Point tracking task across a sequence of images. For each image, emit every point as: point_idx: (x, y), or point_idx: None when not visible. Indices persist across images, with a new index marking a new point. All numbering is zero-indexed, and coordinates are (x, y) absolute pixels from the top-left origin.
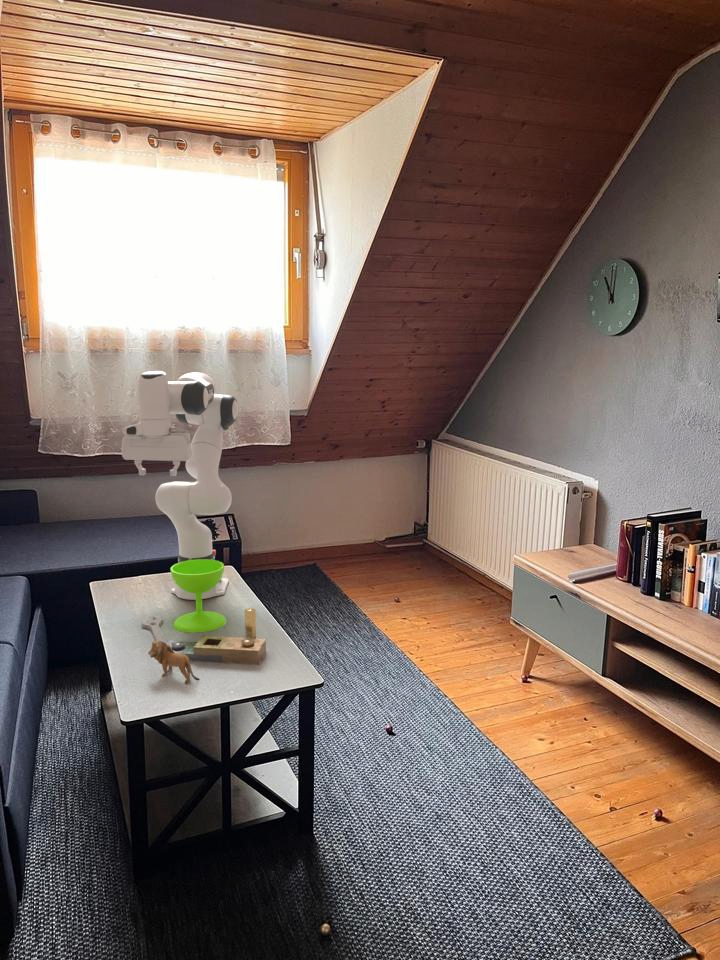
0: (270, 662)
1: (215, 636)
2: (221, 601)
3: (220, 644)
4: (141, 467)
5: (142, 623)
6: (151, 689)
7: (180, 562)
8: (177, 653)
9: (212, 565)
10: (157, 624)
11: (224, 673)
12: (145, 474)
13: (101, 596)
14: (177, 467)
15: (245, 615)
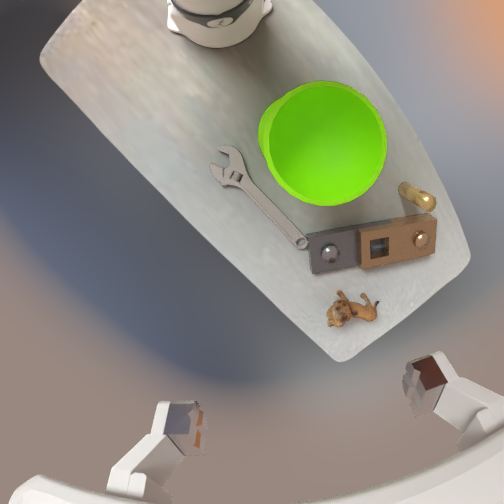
0: None
1: (377, 230)
2: (285, 35)
3: (391, 251)
4: (167, 452)
5: (219, 181)
6: (337, 327)
7: (268, 122)
8: (361, 312)
9: (335, 90)
10: (246, 177)
11: (397, 275)
12: (198, 405)
13: (73, 99)
14: (472, 394)
15: (421, 207)
